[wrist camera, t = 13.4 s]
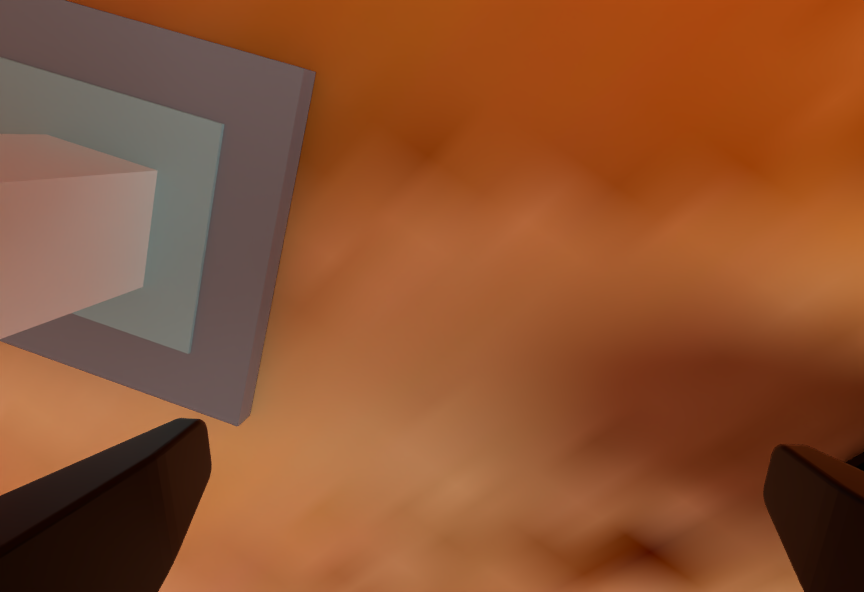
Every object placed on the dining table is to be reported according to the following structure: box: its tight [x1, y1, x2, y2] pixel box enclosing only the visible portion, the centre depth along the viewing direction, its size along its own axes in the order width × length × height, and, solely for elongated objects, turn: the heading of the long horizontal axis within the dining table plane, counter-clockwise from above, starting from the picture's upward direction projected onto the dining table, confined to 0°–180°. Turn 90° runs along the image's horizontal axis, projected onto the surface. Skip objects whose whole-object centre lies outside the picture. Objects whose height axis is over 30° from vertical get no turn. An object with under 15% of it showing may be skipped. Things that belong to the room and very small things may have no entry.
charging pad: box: [0, 0, 316, 426], centre depth 22 cm, size 14×14×1 cm
